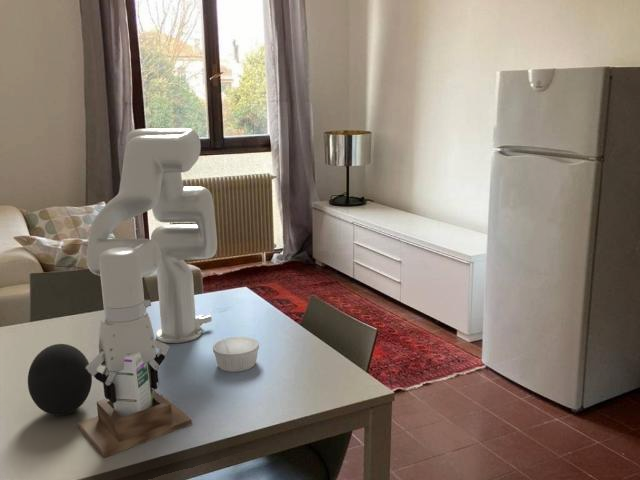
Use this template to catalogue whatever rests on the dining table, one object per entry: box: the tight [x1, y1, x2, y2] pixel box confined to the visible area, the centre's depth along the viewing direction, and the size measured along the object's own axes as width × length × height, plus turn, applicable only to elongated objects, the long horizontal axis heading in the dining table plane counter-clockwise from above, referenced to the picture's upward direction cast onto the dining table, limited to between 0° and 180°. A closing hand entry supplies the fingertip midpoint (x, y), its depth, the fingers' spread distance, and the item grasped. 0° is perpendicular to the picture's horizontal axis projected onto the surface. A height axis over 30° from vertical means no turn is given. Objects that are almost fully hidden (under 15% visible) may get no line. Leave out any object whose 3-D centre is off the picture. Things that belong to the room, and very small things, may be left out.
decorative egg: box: [27, 343, 93, 416], centre depth 125 cm, size 12×12×15 cm
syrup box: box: [112, 353, 154, 417], centre depth 119 cm, size 6×6×14 cm
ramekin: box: [212, 336, 260, 373], centre depth 148 cm, size 11×11×5 cm
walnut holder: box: [78, 388, 193, 458], centre depth 121 cm, size 18×14×5 cm
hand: (132, 393), depth 120 cm, fingers closed on syrup box, 8 cm apart
